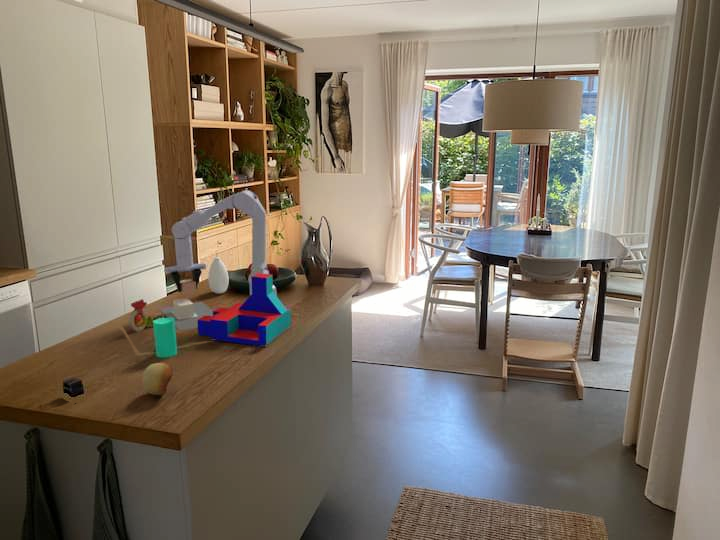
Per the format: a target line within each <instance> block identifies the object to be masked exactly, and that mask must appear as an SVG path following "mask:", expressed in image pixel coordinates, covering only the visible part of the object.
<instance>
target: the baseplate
mask: <svg viewBox="0 0 720 540" xmlns="http://www.w3.org/2000/svg"><path fill="white" fill-rule="evenodd" d="M192 303H193V304H194V316H191V317H185V318H180V317H179V316H178V315H177V314H176V313H175V312H174V305H172V306H165V307H160V308H159V310H160V311H161V312H162V314H164V316H166V318H169V317H172V318H174V321H175V328H177V330H179V332H183V331H187V330H191V329H193V330H194V329H198V322H197V320H198V319H200V318H202V317H203V316H205V315H206V316H213V311H214V309H212V308H210V307H209V306H208V305H207V304H206V303H204V302H203V301H198V302H192Z"/></svg>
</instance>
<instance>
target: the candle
mask: <svg viewBox="0 0 720 540" xmlns="http://www.w3.org/2000/svg"><path fill="white" fill-rule="evenodd" d="M164 316H165V315H162V317H158V318H156V319H155V320H154V319H153V320H154V321H153V326H152V327H153V335H154V345H155V354H156V357H157V358H171V357H174V356H176V355H177V354H178V346H177V345H178V343H177V334H176V326H175V321H174V318H172V317H169V318H167V317H164Z"/></svg>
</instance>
